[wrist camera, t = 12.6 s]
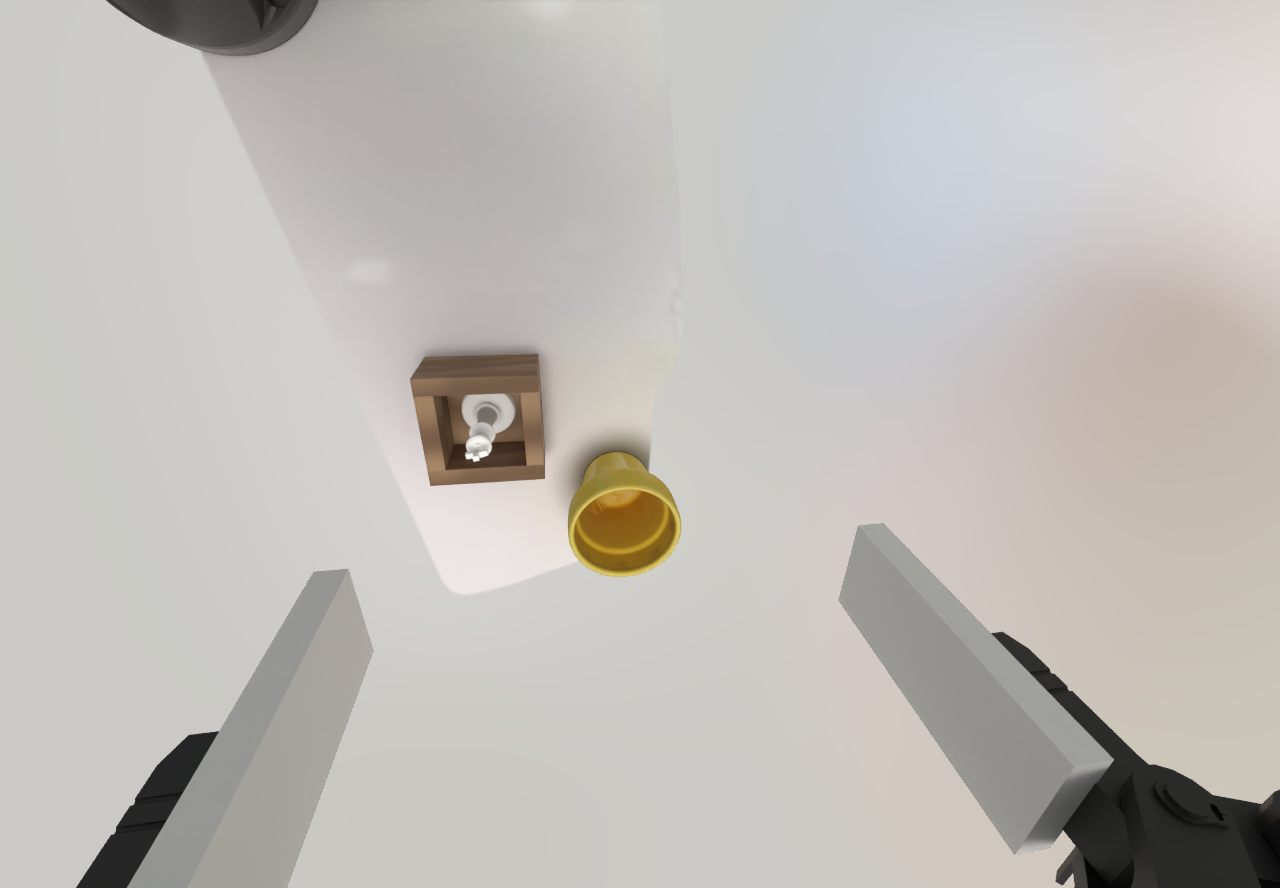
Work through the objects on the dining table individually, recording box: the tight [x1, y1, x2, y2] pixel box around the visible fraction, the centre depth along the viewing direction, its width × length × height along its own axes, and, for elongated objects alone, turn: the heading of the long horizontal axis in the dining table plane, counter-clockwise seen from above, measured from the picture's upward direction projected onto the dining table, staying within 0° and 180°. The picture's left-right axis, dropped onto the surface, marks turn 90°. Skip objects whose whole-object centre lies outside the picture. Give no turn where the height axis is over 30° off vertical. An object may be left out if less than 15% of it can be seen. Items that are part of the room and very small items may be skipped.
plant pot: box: [568, 452, 681, 577], centre depth 51 cm, size 10×10×10 cm
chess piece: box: [462, 393, 516, 462], centre depth 44 cm, size 5×5×10 cm
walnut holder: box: [410, 354, 545, 486], centre depth 47 cm, size 10×10×6 cm
